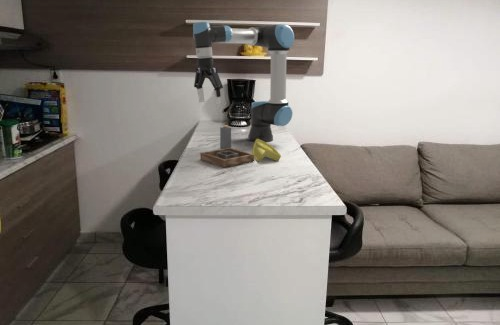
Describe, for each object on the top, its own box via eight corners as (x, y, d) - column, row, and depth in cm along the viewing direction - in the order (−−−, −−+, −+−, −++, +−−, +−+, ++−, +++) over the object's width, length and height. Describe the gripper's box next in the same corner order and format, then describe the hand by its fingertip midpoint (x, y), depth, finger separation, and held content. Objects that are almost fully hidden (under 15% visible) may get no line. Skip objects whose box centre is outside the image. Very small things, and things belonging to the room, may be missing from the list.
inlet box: (229, 154, 196) (229, 147, 195) (254, 161, 184) (254, 153, 183) (200, 160, 184) (200, 152, 183) (224, 168, 172) (224, 159, 171)
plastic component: (282, 156, 185) (264, 148, 182) (275, 170, 187) (257, 162, 183) (271, 144, 203) (254, 137, 200) (264, 157, 205) (248, 149, 201)
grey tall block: (226, 148, 209) (226, 124, 205) (230, 150, 206) (231, 125, 203) (220, 149, 206) (220, 125, 203) (225, 151, 203) (225, 126, 200)
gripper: (183, 58, 188) (189, 102, 194) (213, 57, 169) (219, 106, 176) (196, 57, 192) (201, 100, 199) (227, 56, 174) (232, 103, 180)
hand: (209, 102), depth 187 cm, fingers open, 13 cm apart
